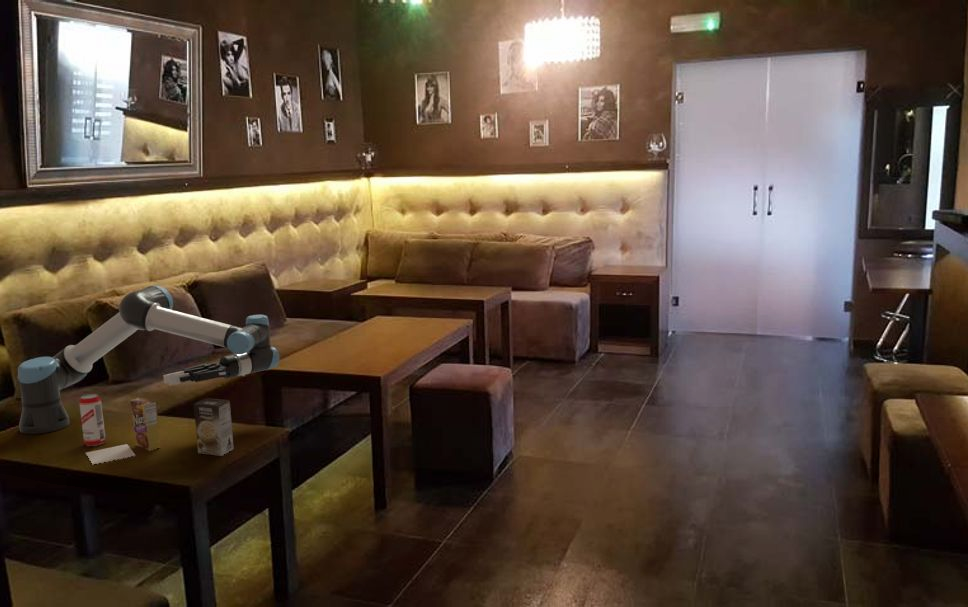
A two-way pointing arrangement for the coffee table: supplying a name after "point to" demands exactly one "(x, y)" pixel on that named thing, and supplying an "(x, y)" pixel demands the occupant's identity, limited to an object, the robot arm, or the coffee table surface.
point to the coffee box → (213, 426)
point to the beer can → (92, 420)
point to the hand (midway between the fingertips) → (166, 380)
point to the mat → (110, 454)
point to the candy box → (145, 423)
